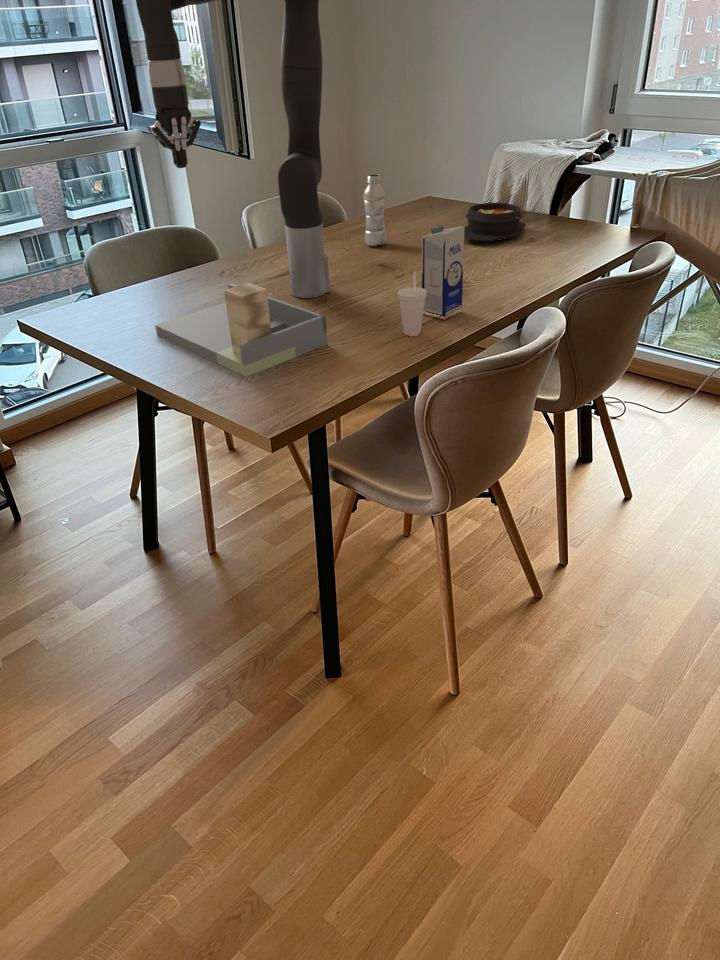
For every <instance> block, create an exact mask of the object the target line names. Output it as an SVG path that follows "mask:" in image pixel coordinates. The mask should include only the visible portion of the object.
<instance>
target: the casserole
mask: <svg viewBox="0 0 720 960" xmlns="http://www.w3.org/2000/svg"><path fill="white" fill-rule="evenodd" d="M522 217H523V213H521V209H520V207H519V206H517V205H516V204H512V203H507V202H506V203H505V202H483V203H478V204H474V205H472V206H469V209H468V211H467V213H466V214H465V218H466V219H467V225H466V226H465V227H464V240H465V239H466V240H469V241H476V242H495V241H494V240H498V239H504V238H509V239H511V238H514V237H517V236H519V235H521V234H523V233H524V231H525V227H526V225H527V224H526V223H524V222H523V221H520V220H521V219H522ZM510 237H511V238H510Z"/></svg>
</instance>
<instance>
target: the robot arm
mask: <svg viewBox="0 0 720 960" xmlns="http://www.w3.org/2000/svg"><path fill="white" fill-rule="evenodd" d="M215 1H217V0H135V3H136V8H137V12H138V16H139V20H140V23H141V27H142V31H143V34H144V35H143V36H144V44H145V51H146V56H147V57H146V58H147V62H148V63H147V64H148V75H149V82H150V86H151V93H152V99H153V105H154V108H155V112H156V113H155V117H154V118H155V121H154V122H153V125H149V126H148V128H147V130H148V131H149V133H150V134H151V135H152V136H153V137H154V138H155V139H156V140H157V141H158V143H159V144H160V145H161V146H162V148H164V149H167V150H170V151H171V153H172V160H173V161H172V162H173V164H174V166H175V167H176V168H177V169H184V168H187V165H188V155H187V149H188V147H190V146H193V144H194V142H195V140H196V138H197V135H198V132H199V130H200V127H201V125H202V124H201V123H202V121H201V120H199V119H196V118H194V116H192V113H191V111H190V109H189V103H190V102H189V97H188V89H187V82H186V75H185V69H184V65H183V62H182V57H181V50H180V43H179V38H178V34H177V31H176V30H175V27H174V20H173V13H172V11H175V10H179V9H181V8H186V7H188V6H197V5H203V4H207V3H211V2H215ZM319 1H320V0H284V2H283V3H284V16H283V18H284V19H283V27H282V36H281V49H280V88H281V97H282V101H283V106H284V110H285V114H286V119H287V123H288V124H287V125H288V148H287V156H286V158H285V159H284V160H283V161H282V162H281V164H280V166H279V169H278V172H277V184H278V191H279V192H278V193H279V194H278V195H279V202H280V208H281V209H280V211H281V213H282V216H283V219H284V226H285V228H284V229H285V238H286V239H285V240H286V247H287V249H286V250H287V258H288V259H287V261H288V272H289V273H288V274H289V281H290V282H289V283H290V285H289V286H290V292H291V294H290V295H292V296H293V297H295V298H301V299H311V298H318V297H322V296H323V295H326V294H327V293H328V292H329V293H331V289H330V287H331V286H330V273H329V270H330V268H329V256H328V254H326V252H325V240H324V239H325V238H324V237H325V236H324V224H323V222H324V221H323V213H322V211H321V209H320V206H319V196H318V185H320V182H321V179H322V176H323V175H322V174H323V168H322V167H323V165H322V155H321V142H320V123H321V111H322V110H321V109H322V108H321V107H322V92H323V91H322V89H323V52H322V51H323V50H322V49H323V48H322V39H321V38H322V37H321V30H320V29H321V28H320V21H319V3H320V2H319ZM163 131H164V132H165V134H164V133H163ZM325 293H326V294H325Z"/></svg>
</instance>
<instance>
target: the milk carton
mask: <svg viewBox="0 0 720 960" xmlns="http://www.w3.org/2000/svg"><path fill="white" fill-rule="evenodd" d="M464 227H465V226H454V227H450V228H444V226H443V225H437V226H435V227H432V228H430V233H429V234H426V235H423V236H422V237H421V288H423V289H425V290H426V291H427V297H426V298H425V304H424V311H426V312H429V313H432V314H436V315H440V316H444V317H445V316H447V315H449V314H451V313H452V312H454V311H456V310H459V309H461V308H462V309H463V284H464V283H463V282H464V255H465V254H464V253H465V252H464V249H465V238H464Z"/></svg>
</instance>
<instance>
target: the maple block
mask: <svg viewBox="0 0 720 960" xmlns="http://www.w3.org/2000/svg"><path fill="white" fill-rule="evenodd" d="M223 291H224V299H225V302H226V307H227V314H228V321H229V328H230V336H231V343H232V350H233V351H234V352H236V353H238V354H240V355H241V352H240V345H243V344H245V343H248V342H251V341H253V340H256V339H259V338H261V337H264V336H267V335H270V334H271V325H270V316H269V307H268V298H267V296H268V292H267V291H268V290H267V288H266V287H262V286H259V285H257V284H254V283H250V282H246V283H243V284H240V285H239V284H238V285H237V286H236V287H233V288H230V289H229V288H226V289H224V290H223Z"/></svg>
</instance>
